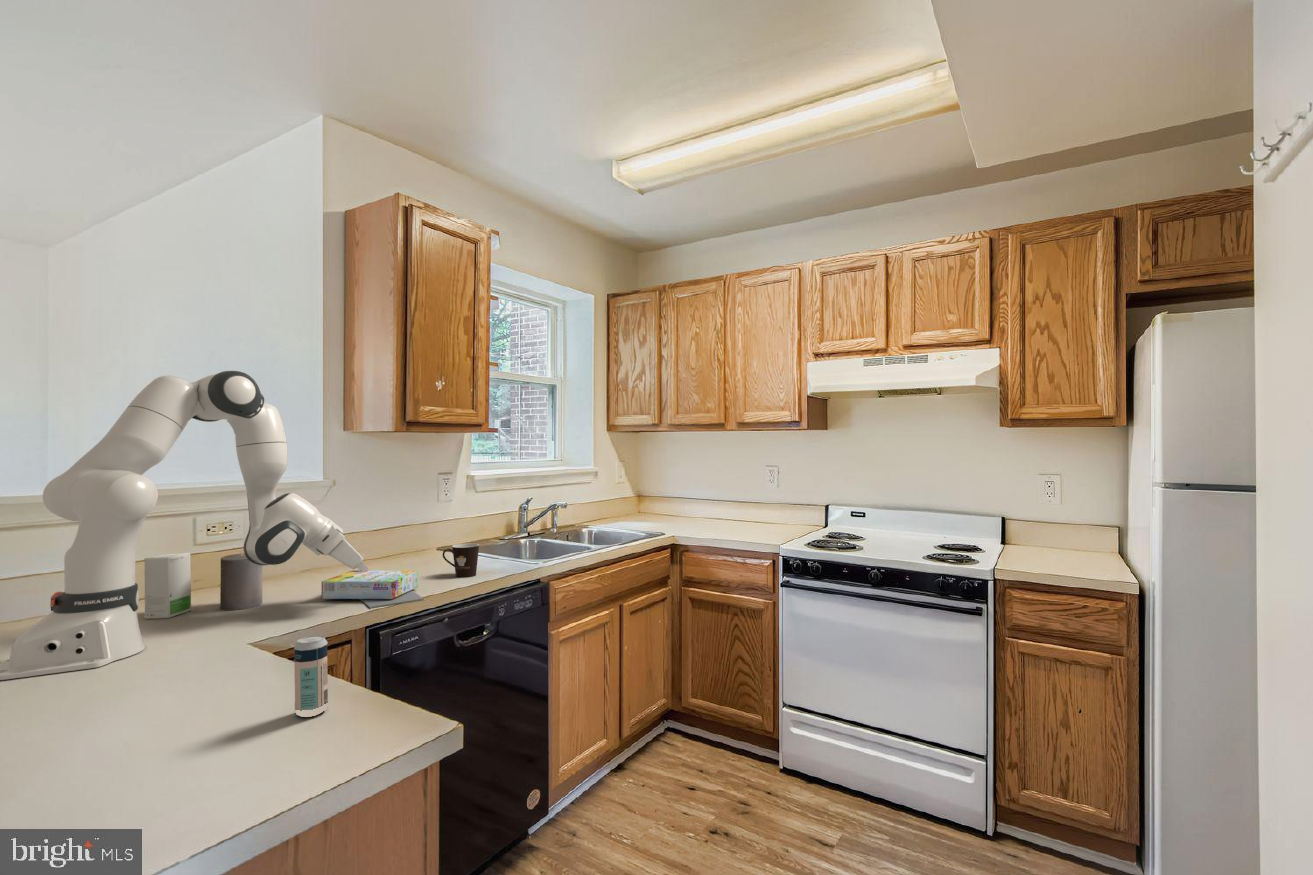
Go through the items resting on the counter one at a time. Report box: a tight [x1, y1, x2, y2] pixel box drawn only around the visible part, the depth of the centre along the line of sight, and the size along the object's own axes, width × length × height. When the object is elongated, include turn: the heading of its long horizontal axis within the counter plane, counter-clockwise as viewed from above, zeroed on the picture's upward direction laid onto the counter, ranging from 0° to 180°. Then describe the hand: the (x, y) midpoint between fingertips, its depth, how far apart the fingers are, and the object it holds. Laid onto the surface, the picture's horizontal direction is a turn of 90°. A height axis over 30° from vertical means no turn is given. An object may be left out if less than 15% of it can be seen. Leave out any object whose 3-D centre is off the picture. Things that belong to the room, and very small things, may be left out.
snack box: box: [320, 569, 419, 600], centre depth 178 cm, size 21×6×15 cm
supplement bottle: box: [293, 634, 329, 711], centre depth 99 cm, size 5×5×12 cm
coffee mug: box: [442, 542, 480, 579], centre depth 204 cm, size 12×9×10 cm
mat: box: [359, 590, 425, 609], centre depth 174 cm, size 14×17×1 cm
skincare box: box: [143, 552, 192, 620], centre depth 160 cm, size 8×7×16 cm
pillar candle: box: [219, 550, 263, 611], centre depth 168 cm, size 10×10×15 cm
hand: (365, 569), depth 170 cm, fingers closed
